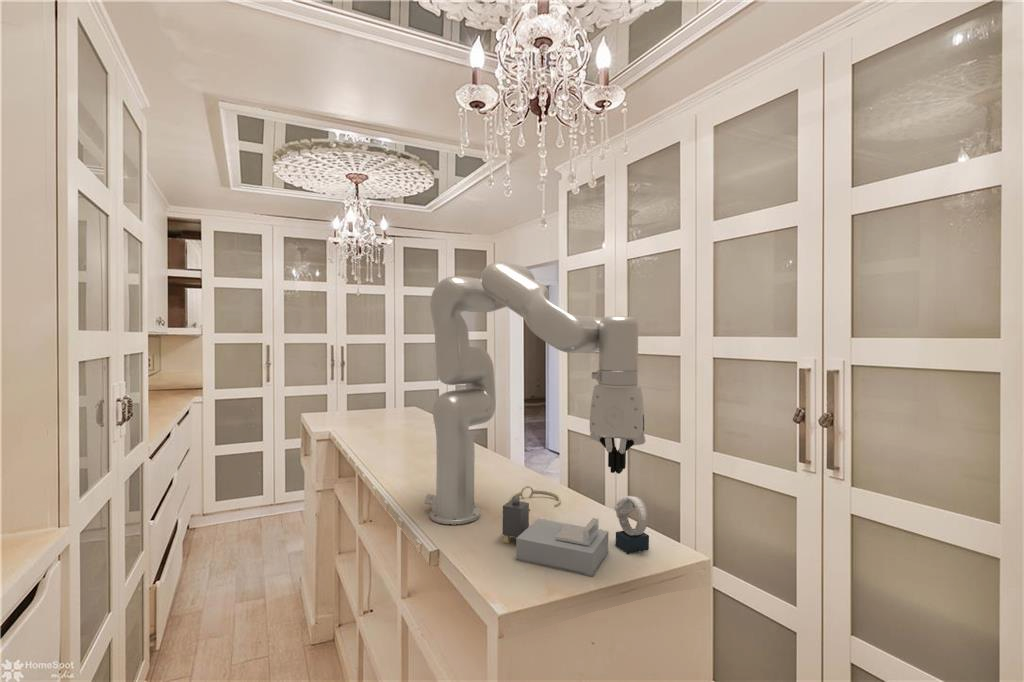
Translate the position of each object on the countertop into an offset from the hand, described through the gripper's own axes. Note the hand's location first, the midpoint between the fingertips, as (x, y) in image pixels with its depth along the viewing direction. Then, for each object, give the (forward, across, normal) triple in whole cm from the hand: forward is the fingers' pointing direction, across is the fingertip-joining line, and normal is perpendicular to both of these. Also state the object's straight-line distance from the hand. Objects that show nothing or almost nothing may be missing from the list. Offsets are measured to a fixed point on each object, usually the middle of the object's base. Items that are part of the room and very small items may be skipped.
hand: (616, 471), depth 100 cm
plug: (+19, -23, +2) cm, 30 cm away
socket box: (+19, -11, 0) cm, 22 cm away
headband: (+20, -29, +27) cm, 44 cm away
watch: (+19, +1, +10) cm, 22 cm away
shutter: (+14, -8, 0) cm, 16 cm away
